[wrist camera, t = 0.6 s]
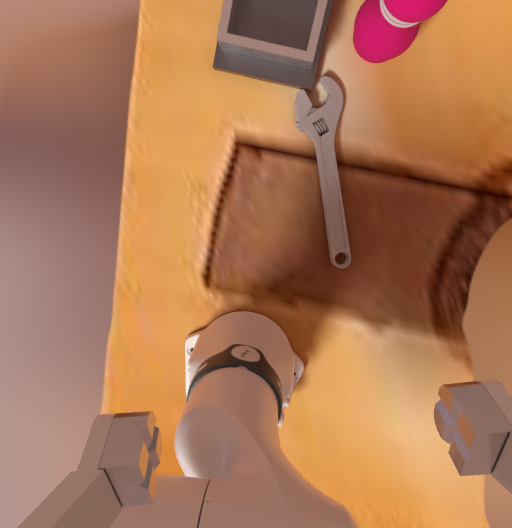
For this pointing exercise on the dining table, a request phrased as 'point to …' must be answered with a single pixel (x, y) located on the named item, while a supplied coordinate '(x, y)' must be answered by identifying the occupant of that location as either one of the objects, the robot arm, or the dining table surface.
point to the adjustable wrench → (326, 161)
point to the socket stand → (273, 40)
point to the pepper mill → (390, 26)
